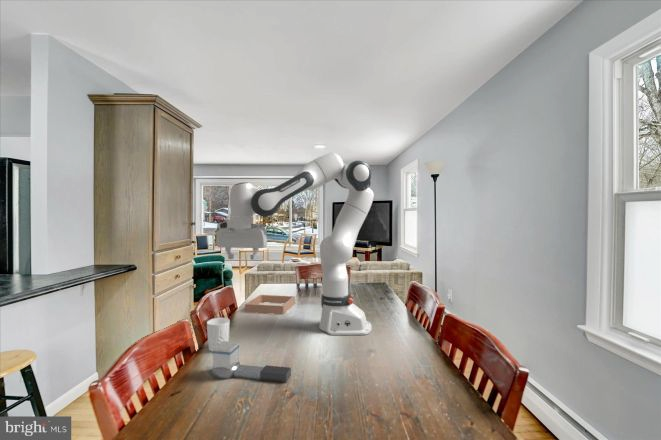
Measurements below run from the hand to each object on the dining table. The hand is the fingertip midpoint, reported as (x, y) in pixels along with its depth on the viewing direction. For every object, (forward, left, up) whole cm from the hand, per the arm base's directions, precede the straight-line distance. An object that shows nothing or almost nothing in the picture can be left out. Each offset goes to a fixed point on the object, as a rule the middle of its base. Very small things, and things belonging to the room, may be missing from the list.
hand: (241, 259), depth 125 cm
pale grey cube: (-8, +27, -29) cm, 40 cm away
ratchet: (-16, +27, -31) cm, 44 cm away
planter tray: (+4, -40, -31) cm, 51 cm away
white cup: (+4, +11, -31) cm, 33 cm away
